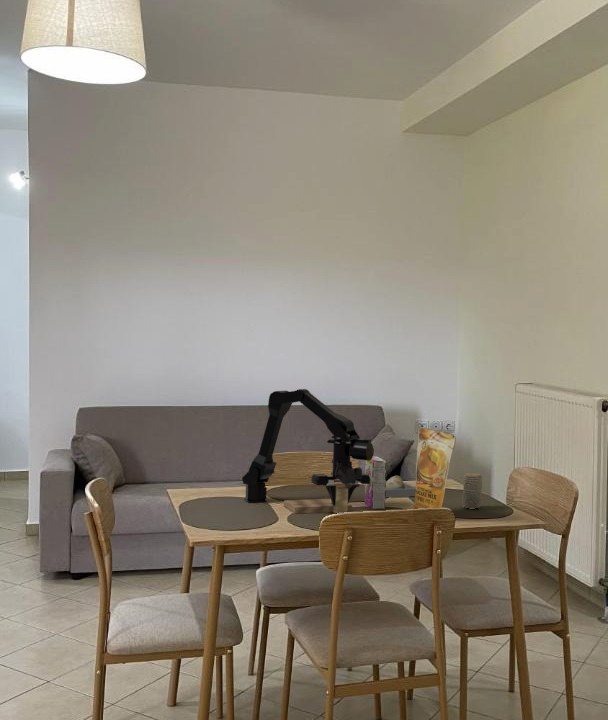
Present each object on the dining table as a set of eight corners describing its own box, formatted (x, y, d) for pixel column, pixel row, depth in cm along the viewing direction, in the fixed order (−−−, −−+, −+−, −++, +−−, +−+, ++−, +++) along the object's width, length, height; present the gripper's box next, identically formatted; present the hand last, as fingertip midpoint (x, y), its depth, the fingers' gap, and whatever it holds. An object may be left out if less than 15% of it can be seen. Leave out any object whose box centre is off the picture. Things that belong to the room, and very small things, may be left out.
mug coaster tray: (381, 498, 302) (382, 489, 302) (366, 491, 315) (366, 483, 315) (419, 496, 306) (419, 488, 306) (402, 490, 320) (403, 482, 320)
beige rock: (372, 494, 310) (381, 470, 313) (394, 506, 311) (404, 481, 315) (379, 493, 303) (389, 468, 306) (402, 504, 304) (412, 480, 308)
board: (294, 513, 270) (294, 507, 270) (283, 506, 281) (283, 500, 281) (352, 511, 276) (352, 505, 276) (339, 504, 288) (339, 498, 288)
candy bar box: (363, 502, 292) (364, 456, 291) (377, 502, 292) (378, 456, 292) (371, 509, 281) (372, 460, 280) (385, 509, 281) (387, 460, 281)
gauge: (335, 513, 271) (336, 488, 270) (326, 508, 279) (327, 484, 279) (347, 513, 272) (348, 488, 272) (337, 507, 280) (338, 483, 280)
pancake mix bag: (423, 509, 283) (426, 427, 283) (455, 521, 266) (458, 433, 265) (406, 510, 281) (408, 427, 280) (437, 522, 263) (440, 433, 263)
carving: (460, 509, 285) (461, 474, 285) (464, 505, 292) (465, 471, 292) (479, 511, 283) (480, 476, 282) (482, 507, 290) (483, 473, 289)
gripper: (323, 461, 262) (321, 511, 262) (377, 460, 268) (376, 509, 268) (311, 456, 272) (310, 504, 273) (364, 455, 278) (363, 502, 279)
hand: (340, 505), depth 273 cm, fingers closed on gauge, 4 cm apart
